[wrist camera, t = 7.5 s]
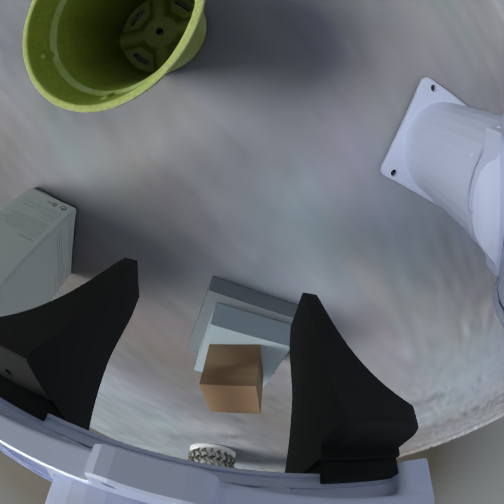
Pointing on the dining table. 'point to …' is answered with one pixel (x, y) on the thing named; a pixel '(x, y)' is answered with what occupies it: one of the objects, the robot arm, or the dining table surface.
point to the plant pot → (107, 48)
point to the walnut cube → (233, 378)
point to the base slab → (238, 307)
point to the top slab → (246, 336)
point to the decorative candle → (212, 454)
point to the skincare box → (34, 250)
